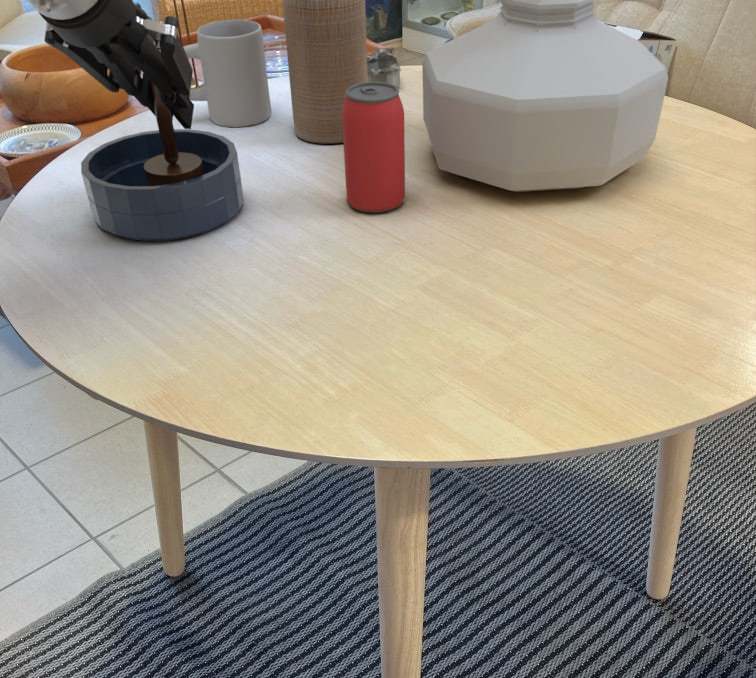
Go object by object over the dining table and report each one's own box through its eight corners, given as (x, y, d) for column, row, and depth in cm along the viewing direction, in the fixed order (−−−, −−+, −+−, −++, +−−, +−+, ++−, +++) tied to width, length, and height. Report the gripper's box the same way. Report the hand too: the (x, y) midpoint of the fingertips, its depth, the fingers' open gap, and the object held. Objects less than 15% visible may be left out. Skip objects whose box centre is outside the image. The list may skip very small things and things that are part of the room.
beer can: (384, 185, 100) (381, 75, 92) (416, 205, 96) (416, 92, 88) (336, 199, 98) (328, 88, 89) (366, 220, 93) (361, 105, 85)
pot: (637, 222, 91) (674, 28, 78) (388, 194, 98) (384, 12, 85) (661, 128, 110) (693, -40, 98) (450, 110, 117) (455, -48, 105)
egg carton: (396, 75, 129) (396, 45, 126) (402, 92, 124) (402, 61, 121) (326, 79, 129) (324, 49, 126) (328, 96, 123) (327, 65, 120)
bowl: (75, 203, 99) (60, 151, 95) (207, 169, 105) (199, 118, 101) (125, 259, 88) (111, 203, 84) (268, 217, 95) (262, 163, 91)
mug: (267, 102, 122) (257, 16, 114) (275, 123, 116) (266, 33, 108) (182, 112, 120) (166, 25, 112) (186, 133, 114) (170, 43, 106)
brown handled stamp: (139, 181, 97) (102, 14, 85) (191, 168, 99) (162, 3, 88) (160, 201, 93) (125, 28, 81) (214, 187, 95) (187, 17, 84)
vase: (305, 116, 117) (285, -135, 98) (376, 119, 116) (368, -135, 97) (285, 143, 110) (259, -121, 91) (360, 147, 109) (349, -122, 90)
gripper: (-15, 22, 73) (114, 146, 96) (145, 27, 70) (238, 153, 94) (-4, -65, 73) (122, 80, 96) (157, -63, 70) (246, 85, 94)
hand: (179, 116), depth 95 cm, fingers closed on brown handled stamp, 2 cm apart
